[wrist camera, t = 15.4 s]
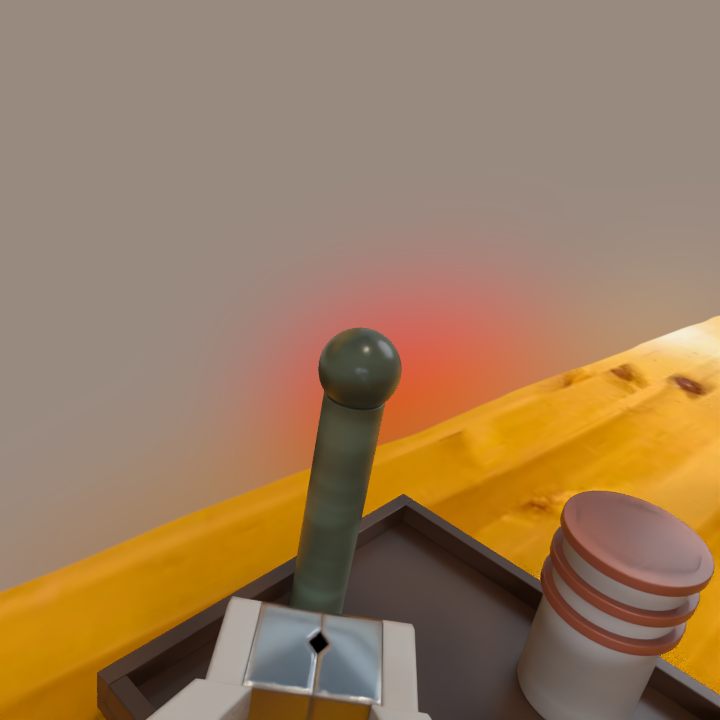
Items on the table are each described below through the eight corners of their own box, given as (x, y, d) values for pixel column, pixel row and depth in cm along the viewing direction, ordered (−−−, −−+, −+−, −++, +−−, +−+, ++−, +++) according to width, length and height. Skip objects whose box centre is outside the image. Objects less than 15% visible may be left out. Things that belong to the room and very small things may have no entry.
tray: (531, 1268, 16) (824, 885, 10) (96, 707, 27) (99, 358, 21) (733, 744, 31) (902, 455, 24) (397, 519, 42) (453, 281, 35)
